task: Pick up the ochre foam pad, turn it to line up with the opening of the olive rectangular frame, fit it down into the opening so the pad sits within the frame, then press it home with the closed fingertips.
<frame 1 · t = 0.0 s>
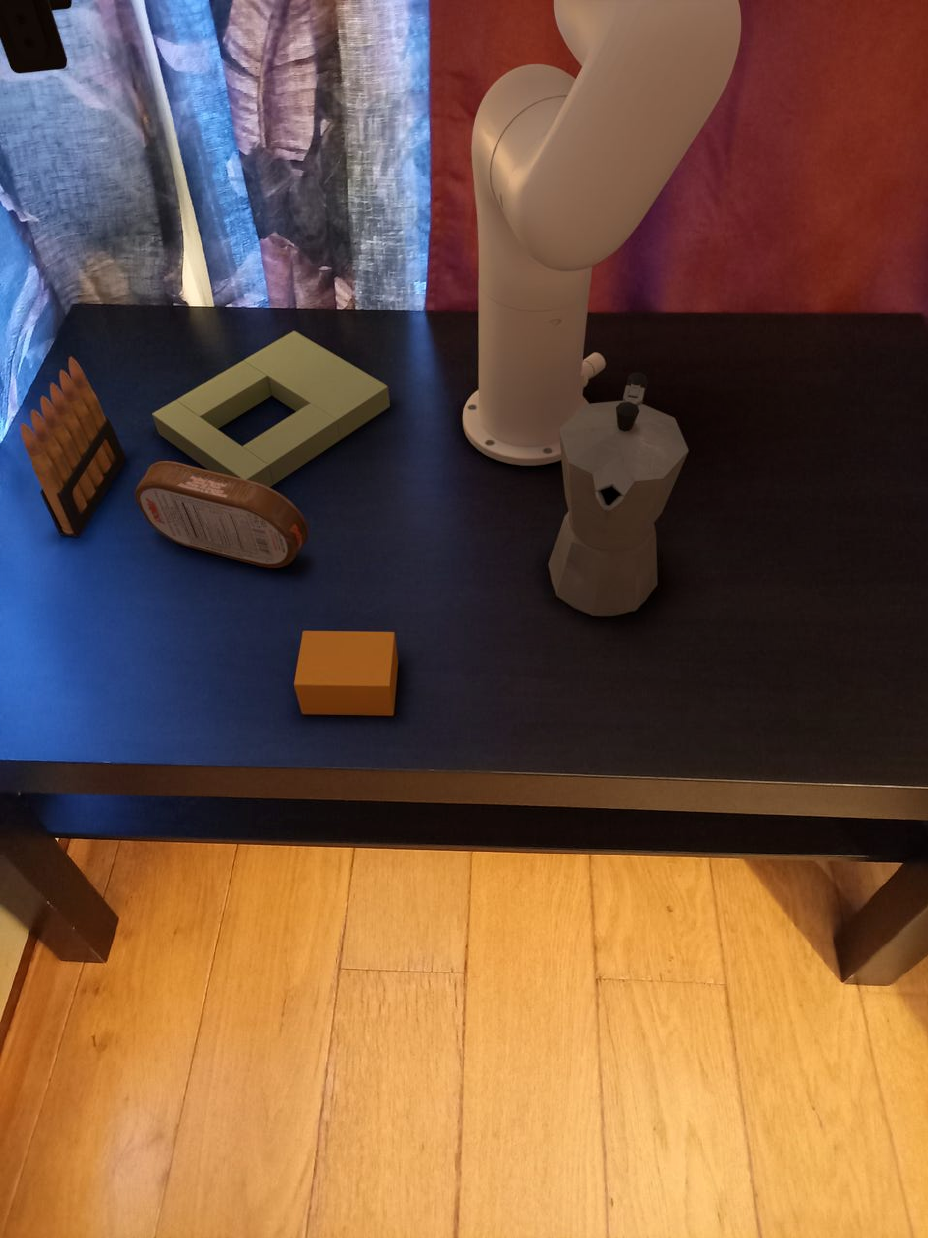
hand: (44, 37, 59), 37 cm above the table, tool pointing down, fingers open, 9 cm apart
olive rectangular frame: (275, 420, 93), on the table
tin: (230, 551, 82), on the table
coffeepot: (603, 569, 80), on the table
ammunition clip: (94, 496, 87), on the table
ochre pad: (351, 688, 73), on the table
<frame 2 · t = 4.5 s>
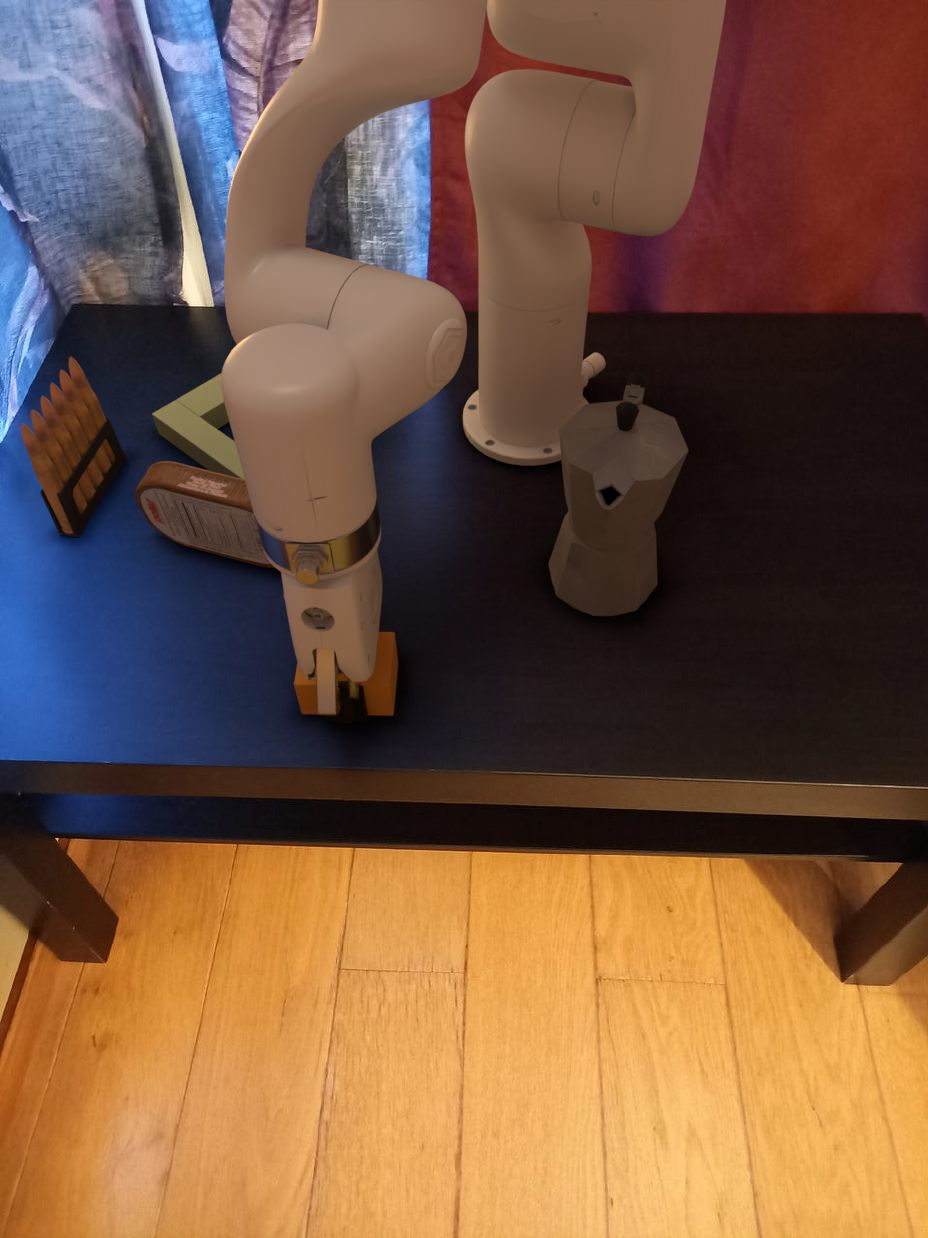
hand: (350, 684, 72), 0 cm above the table, tool pointing down, fingers closed on ochre pad, 5 cm apart
ochre pad: (351, 688, 73), on the table, touching gripper
everything else where it was.
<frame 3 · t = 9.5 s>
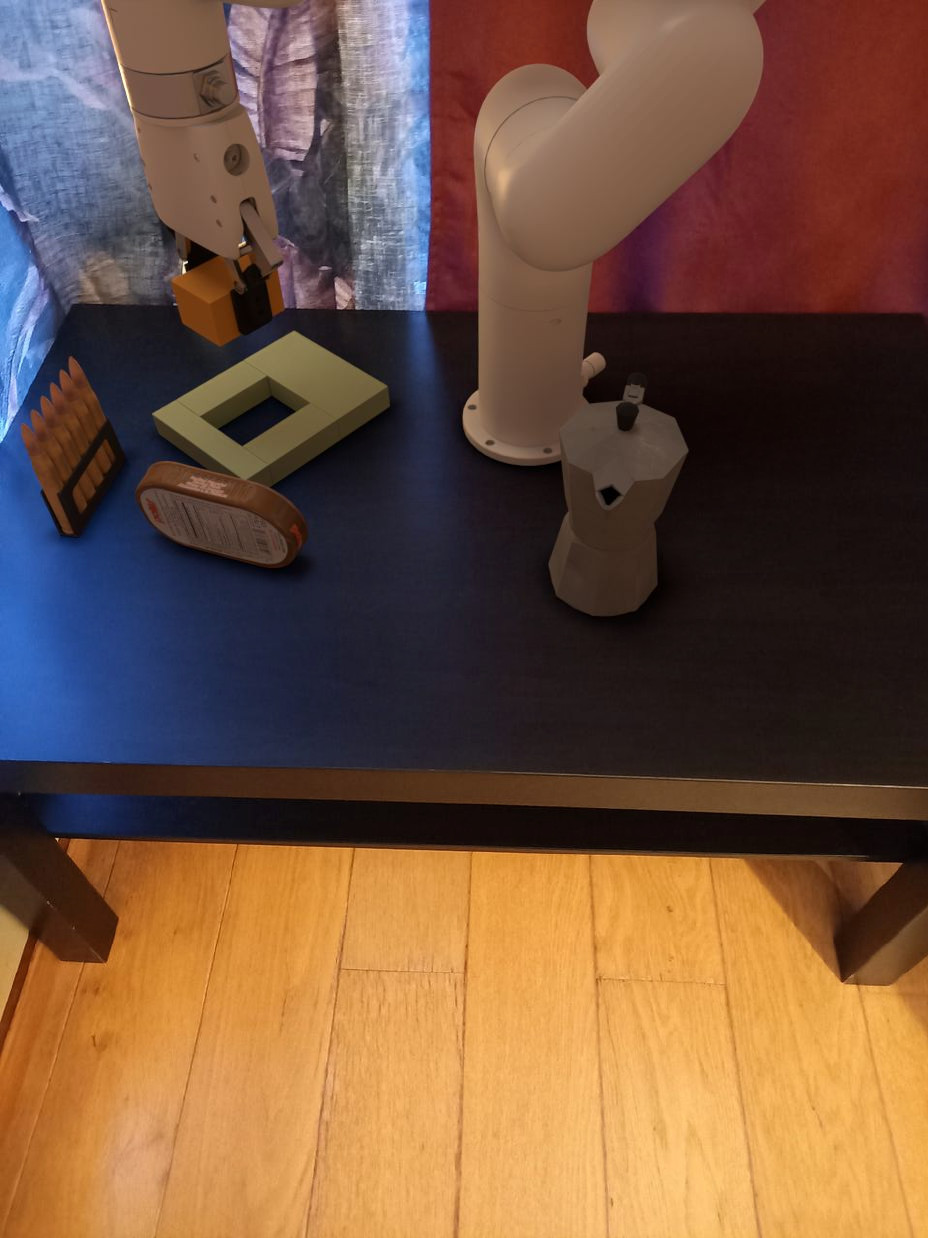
hand: (233, 311, 79), 15 cm above the table, tool pointing down, fingers closed on ochre pad, 5 cm apart
ochre pad: (234, 316, 79), point 15 cm above the table, touching gripper
everything else where it was.
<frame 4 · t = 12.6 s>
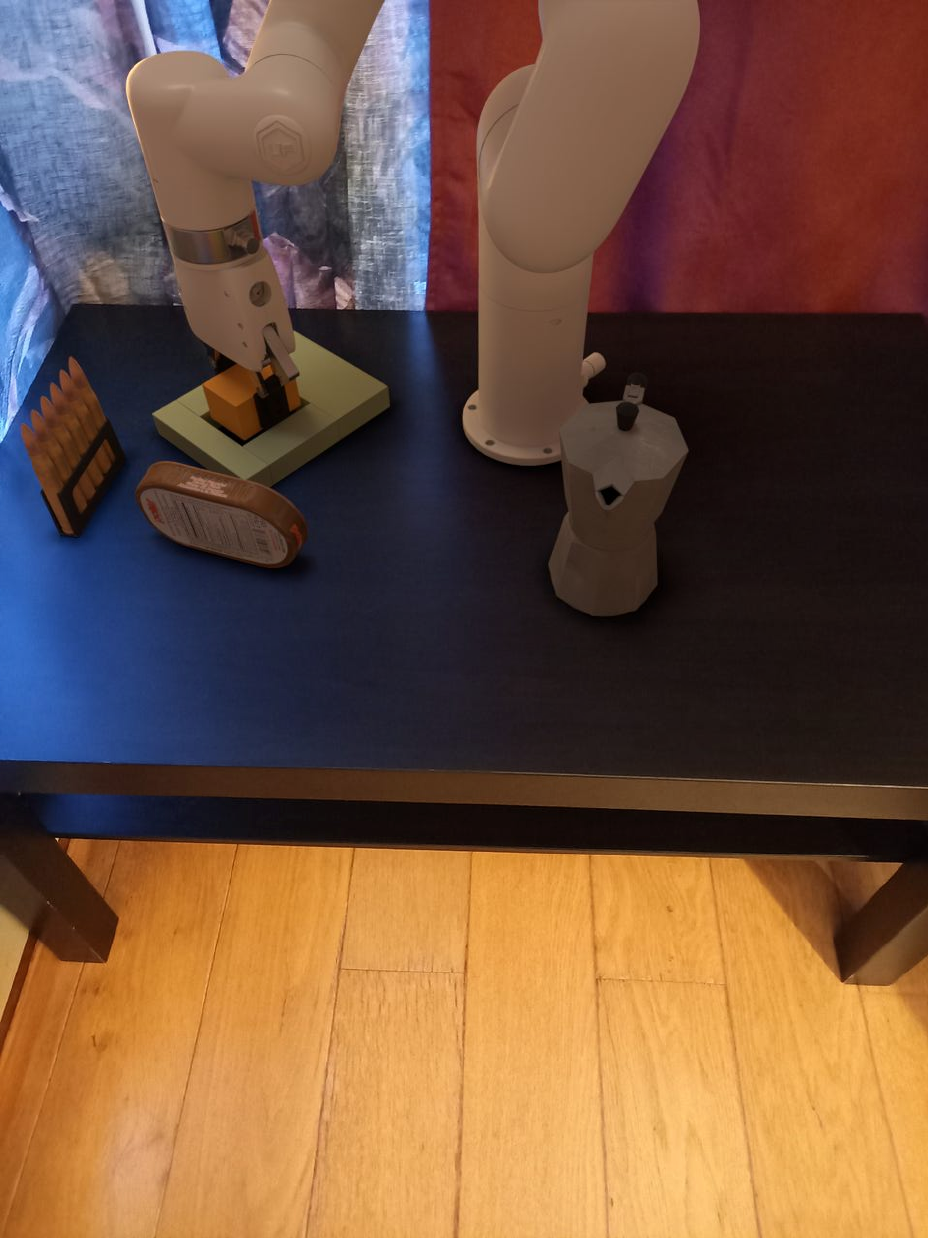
hand: (256, 407, 90), 3 cm above the table, tool pointing down, fingers closed on ochre pad, 4 cm apart
ochre pad: (256, 411, 90), point 2 cm above the table, touching gripper
everything else where it was.
when the fingers open (3 cm above the table, at t = 14.9 s): ochre pad drops 2 cm, resting in olive rectangular frame.
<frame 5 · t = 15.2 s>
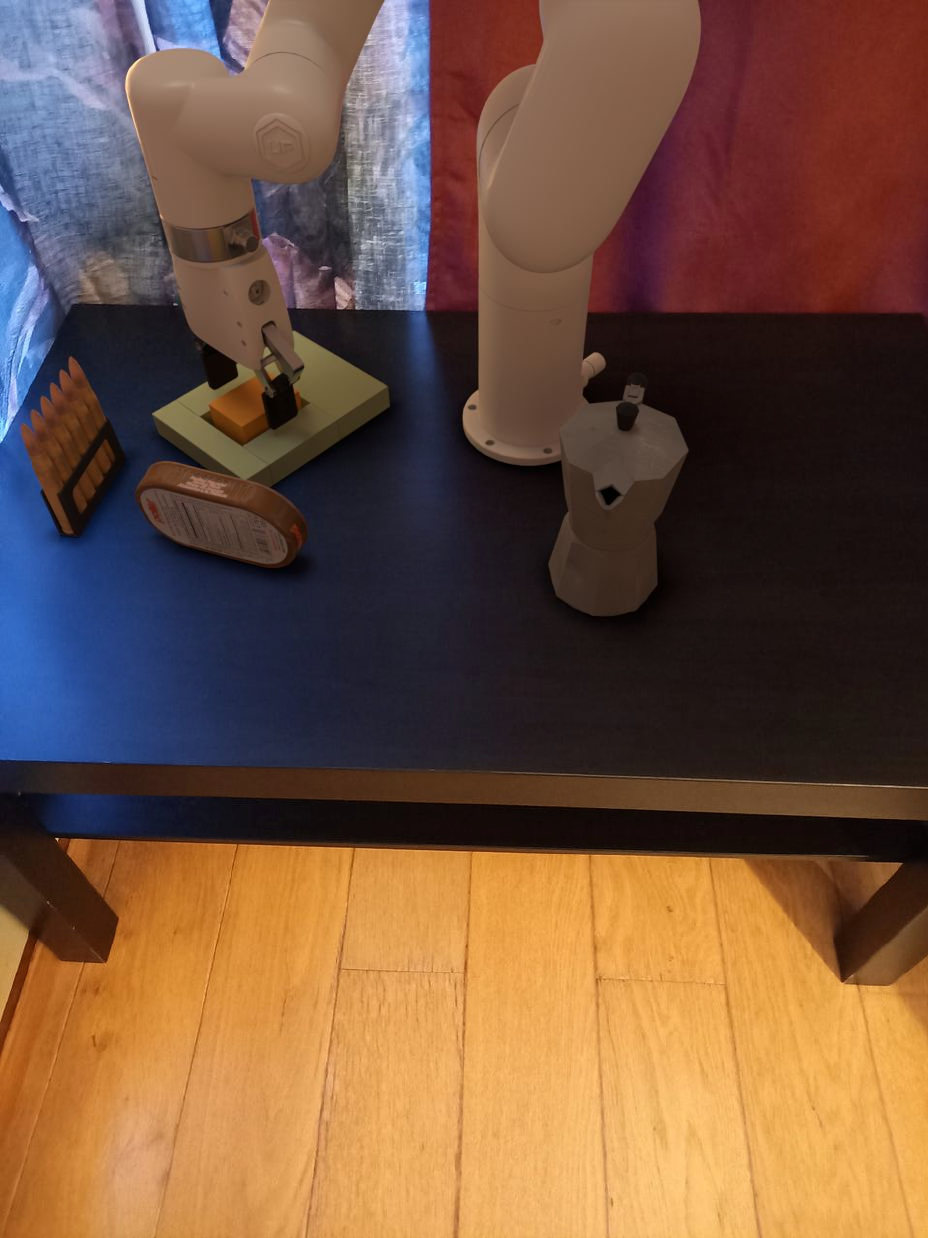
hand: (253, 401, 89), 4 cm above the table, tool pointing down, fingers open, 8 cm apart
ochre pad: (261, 430, 92), resting in olive rectangular frame
everything else where it was.
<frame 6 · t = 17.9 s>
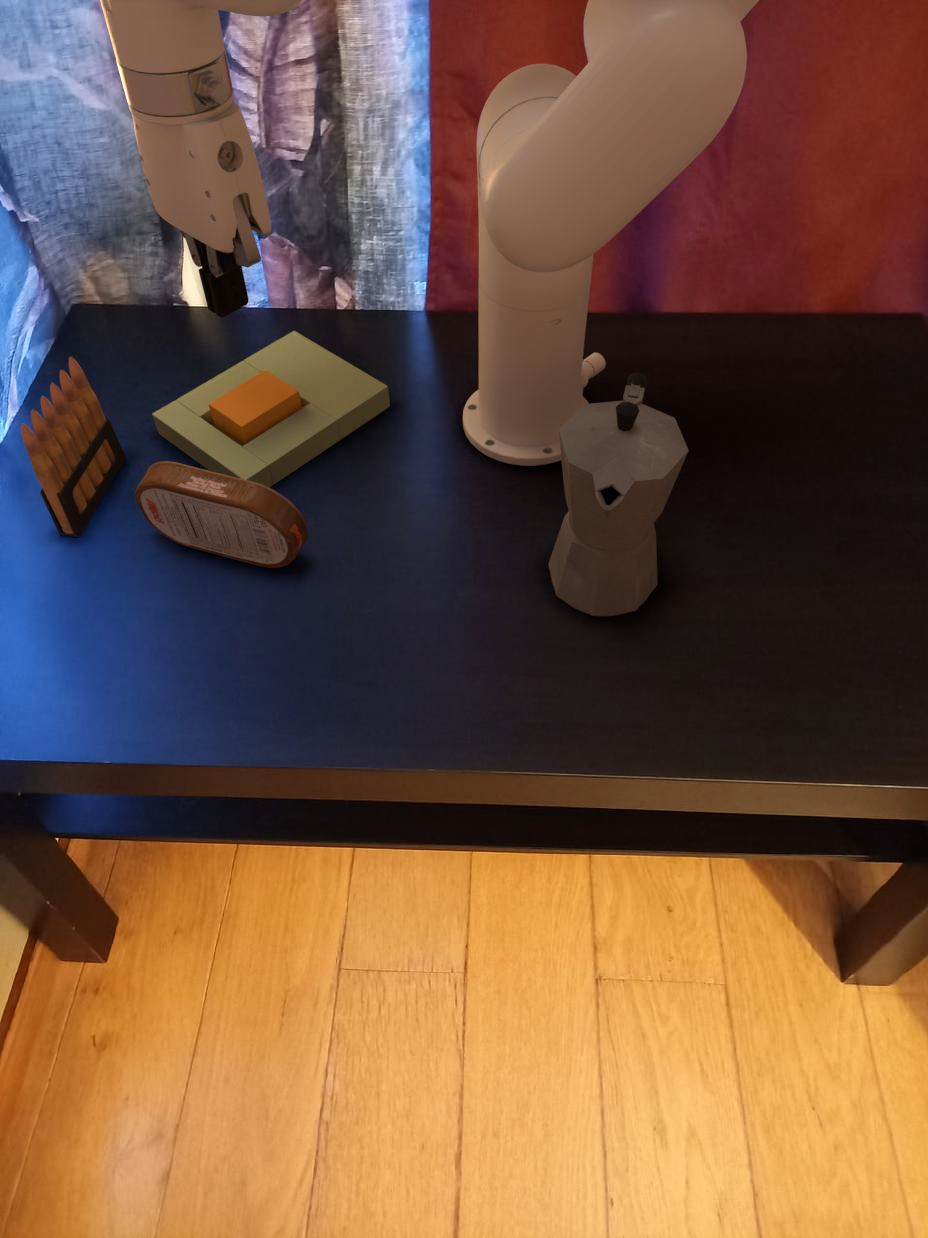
hand: (229, 307, 81), 14 cm above the table, tool pointing down, fingers closed
nothing on the table moved.
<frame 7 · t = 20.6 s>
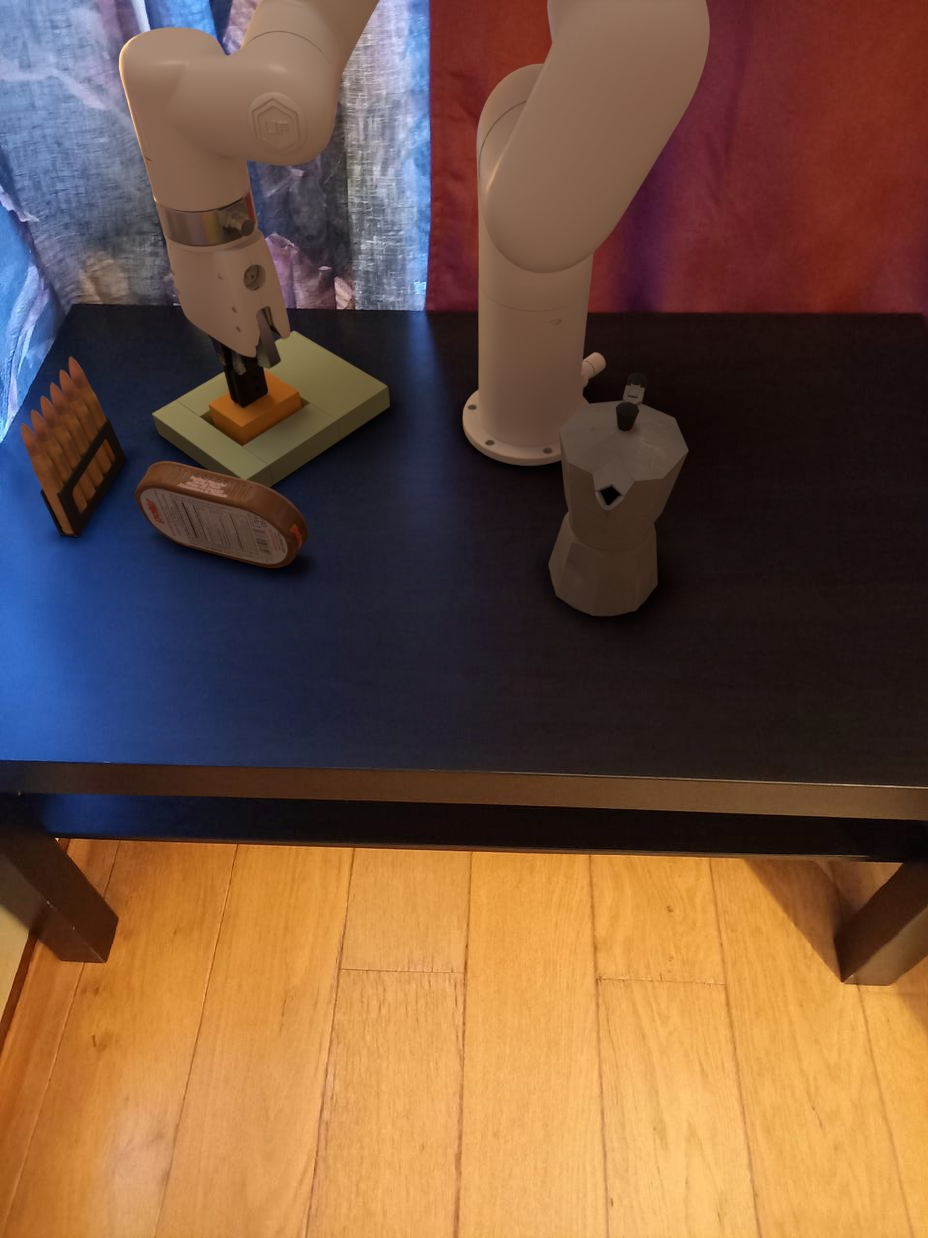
hand: (250, 397, 89), 4 cm above the table, tool pointing down, fingers closed
ochre pad: (261, 430, 92), resting in olive rectangular frame, touching gripper
everything else where it was.
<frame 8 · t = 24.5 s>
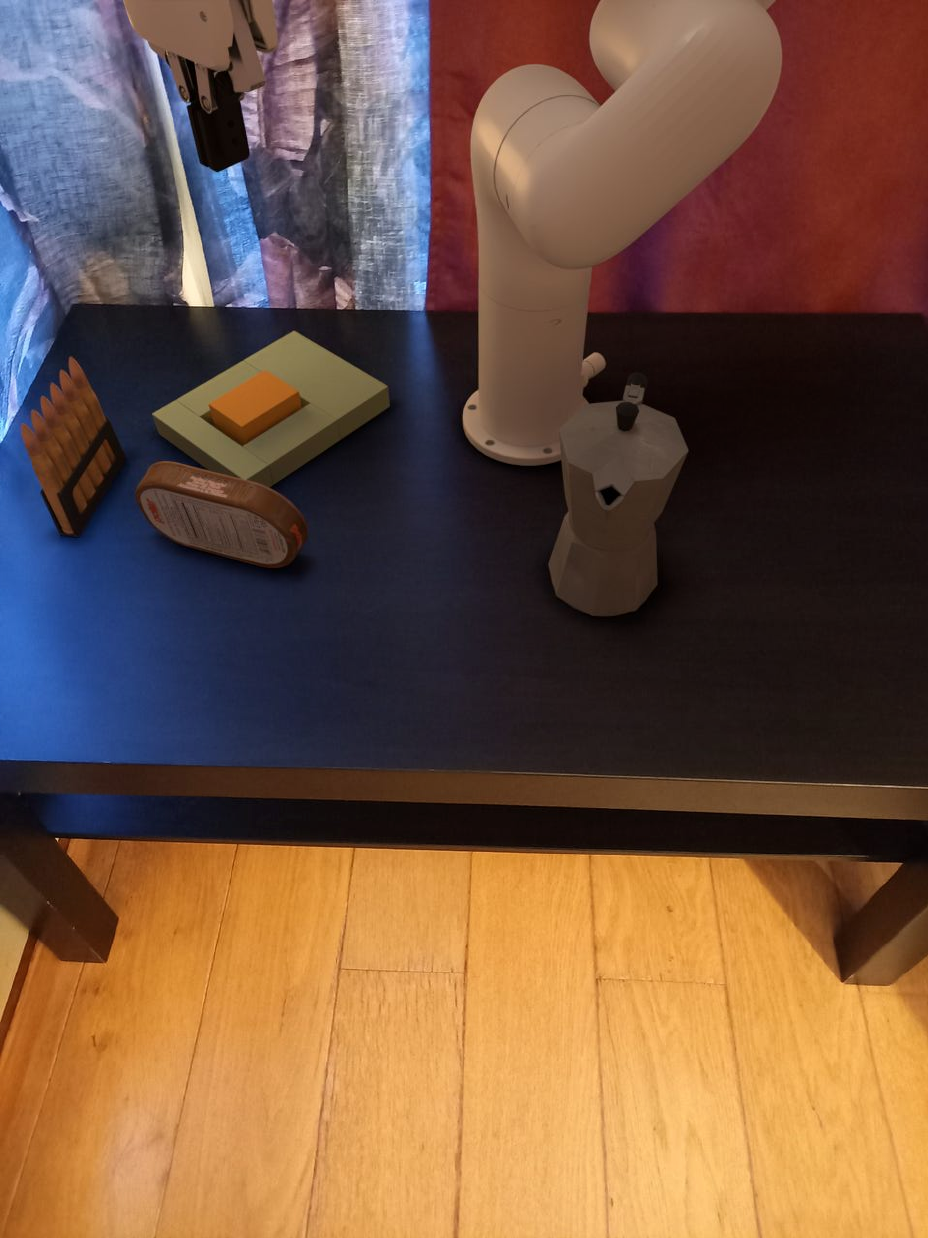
hand: (225, 161, 65), 29 cm above the table, tool pointing down, fingers closed
ochre pad: (261, 430, 92), resting in olive rectangular frame
everything else where it was.
at the end: ochre pad 0.1 cm from the target spot on the olive rectangular frame, point 0.0 cm above the olive rectangular frame's base; ochre pad tilted 0°; the gripper is holding nothing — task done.
